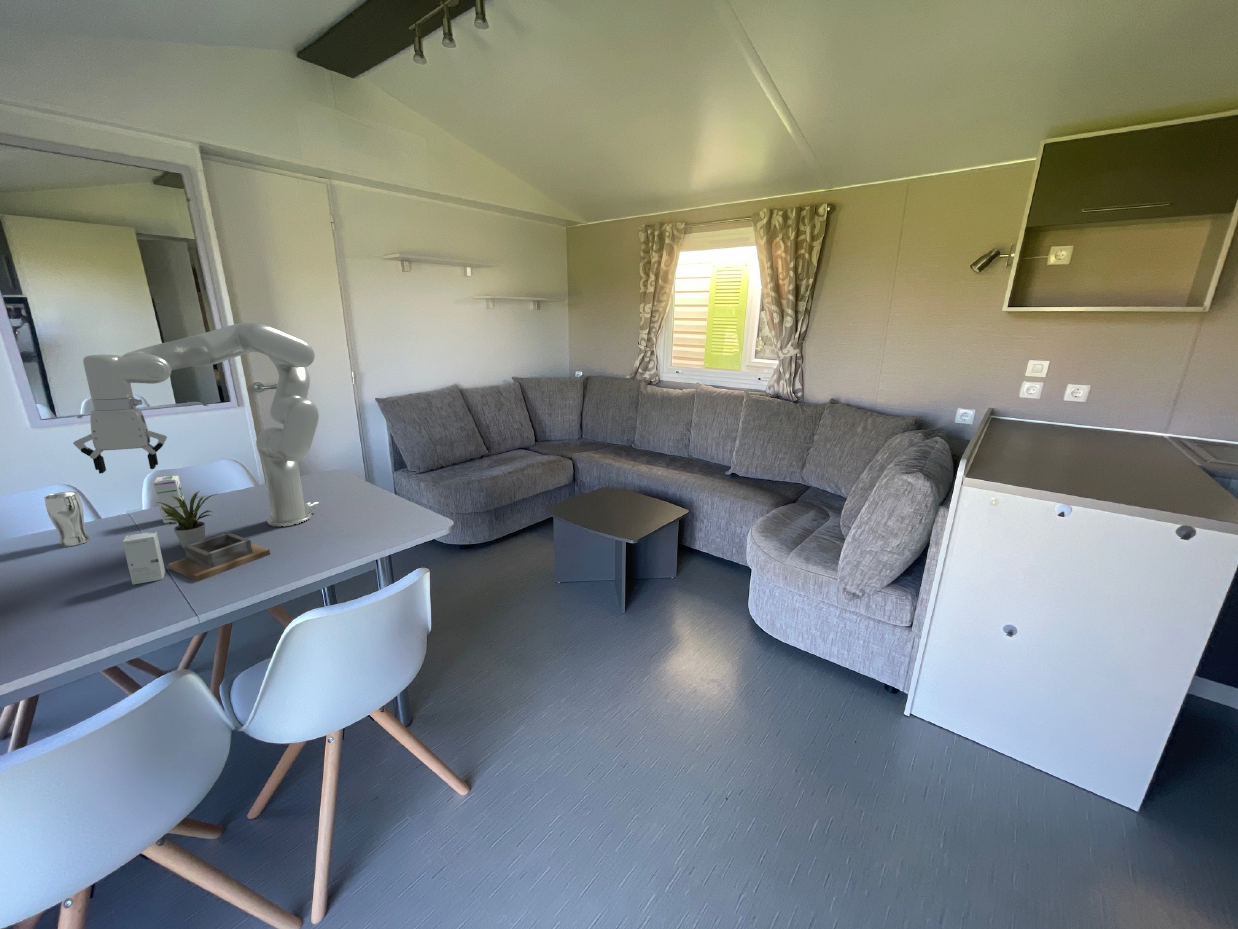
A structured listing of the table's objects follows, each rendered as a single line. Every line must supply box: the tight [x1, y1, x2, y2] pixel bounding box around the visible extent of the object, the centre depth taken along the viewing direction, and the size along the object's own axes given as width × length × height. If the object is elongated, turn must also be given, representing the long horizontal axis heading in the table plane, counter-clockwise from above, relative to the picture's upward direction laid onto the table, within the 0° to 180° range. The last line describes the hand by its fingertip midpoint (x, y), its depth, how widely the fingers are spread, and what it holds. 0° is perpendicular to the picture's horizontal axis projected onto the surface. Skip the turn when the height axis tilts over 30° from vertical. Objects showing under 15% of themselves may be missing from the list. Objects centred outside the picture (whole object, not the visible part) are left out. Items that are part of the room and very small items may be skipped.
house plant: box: [156, 490, 218, 550], centre depth 148 cm, size 14×14×16 cm
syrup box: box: [152, 474, 186, 524], centre depth 165 cm, size 6×6×14 cm
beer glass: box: [43, 491, 91, 548], centre depth 146 cm, size 7×7×15 cm
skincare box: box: [122, 531, 166, 585], centre depth 128 cm, size 6×4×12 cm
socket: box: [168, 532, 271, 582], centre depth 139 cm, size 18×14×6 cm
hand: (128, 470), depth 130 cm, fingers open, 9 cm apart
